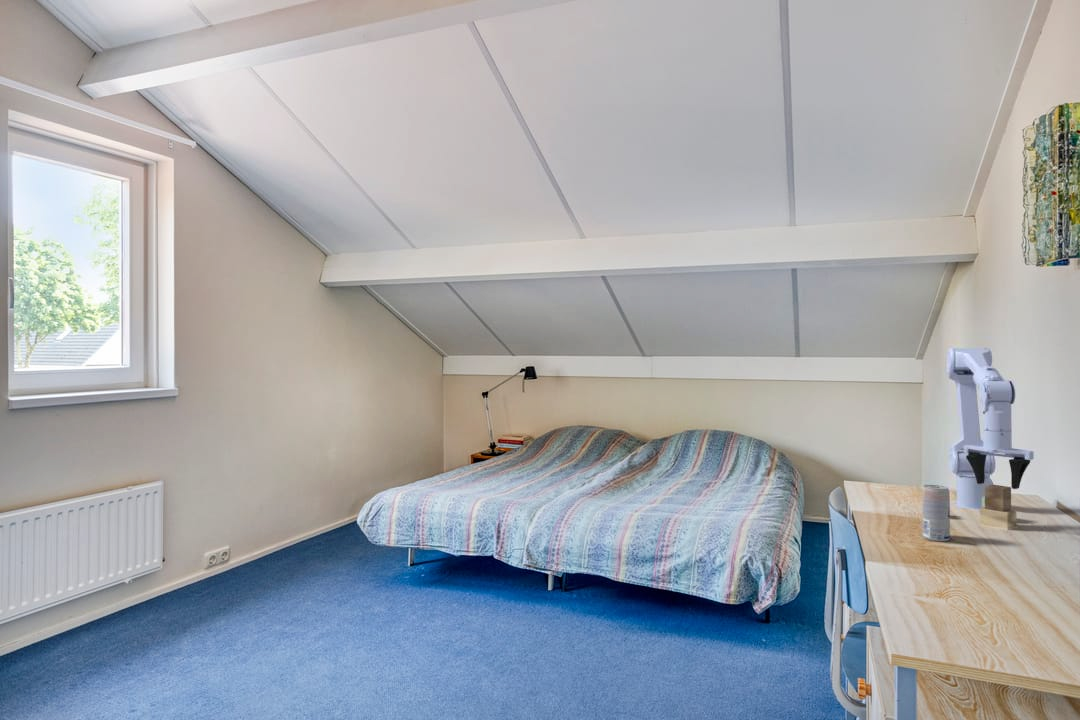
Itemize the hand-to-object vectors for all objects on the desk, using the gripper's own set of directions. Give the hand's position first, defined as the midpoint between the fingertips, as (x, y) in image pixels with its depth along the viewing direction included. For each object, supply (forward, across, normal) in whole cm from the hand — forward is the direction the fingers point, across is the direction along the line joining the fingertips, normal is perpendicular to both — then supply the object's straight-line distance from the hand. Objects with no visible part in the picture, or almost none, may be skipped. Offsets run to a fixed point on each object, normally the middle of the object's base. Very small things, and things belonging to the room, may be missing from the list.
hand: (997, 485), depth 161 cm
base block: (+10, 0, 0) cm, 10 cm away
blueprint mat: (+10, -2, +2) cm, 11 cm away
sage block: (+10, -4, +6) cm, 12 cm away
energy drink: (+10, -3, -22) cm, 25 cm away
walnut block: (+6, 0, 0) cm, 6 cm away
